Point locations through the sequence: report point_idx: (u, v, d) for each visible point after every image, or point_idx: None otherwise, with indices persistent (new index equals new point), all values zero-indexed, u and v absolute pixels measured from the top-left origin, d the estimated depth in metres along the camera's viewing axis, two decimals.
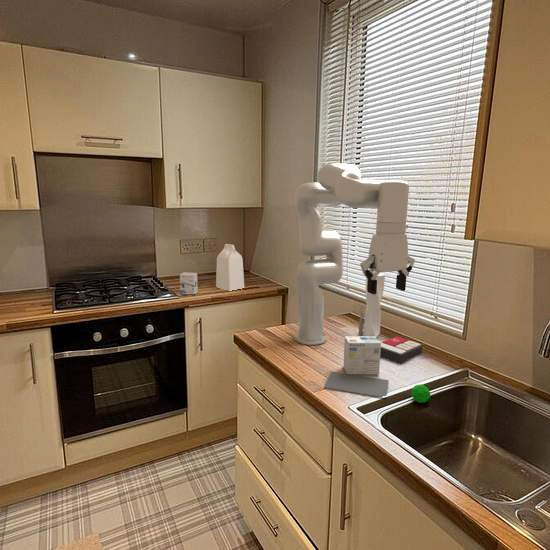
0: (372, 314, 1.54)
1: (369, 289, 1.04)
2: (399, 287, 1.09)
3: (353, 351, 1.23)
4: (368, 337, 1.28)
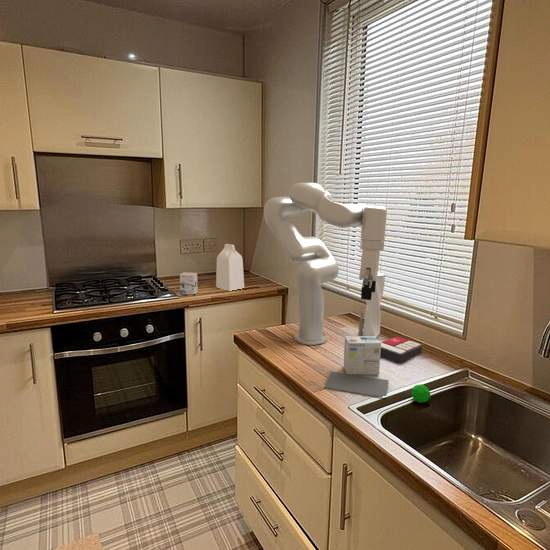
0: (372, 314, 1.54)
1: (366, 296, 1.25)
2: None
3: (353, 351, 1.23)
4: (368, 337, 1.28)
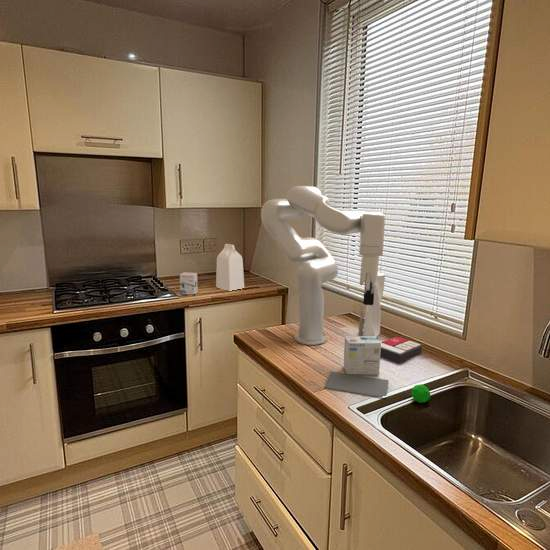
0: (372, 314, 1.54)
1: (368, 302, 1.31)
2: None
3: (353, 351, 1.23)
4: (368, 337, 1.28)
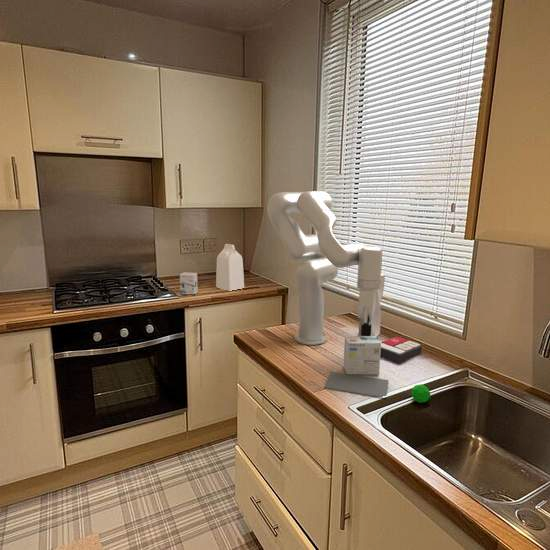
0: None
1: (366, 333, 1.33)
2: None
3: (353, 351, 1.23)
4: (368, 337, 1.28)
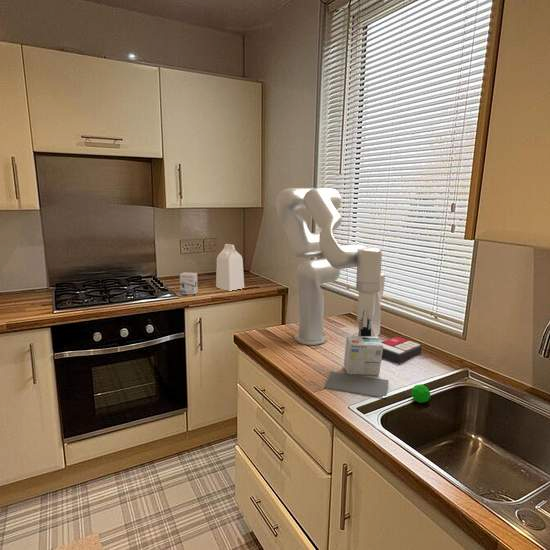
0: None
1: None
2: None
3: (355, 352, 1.22)
4: (370, 338, 1.26)
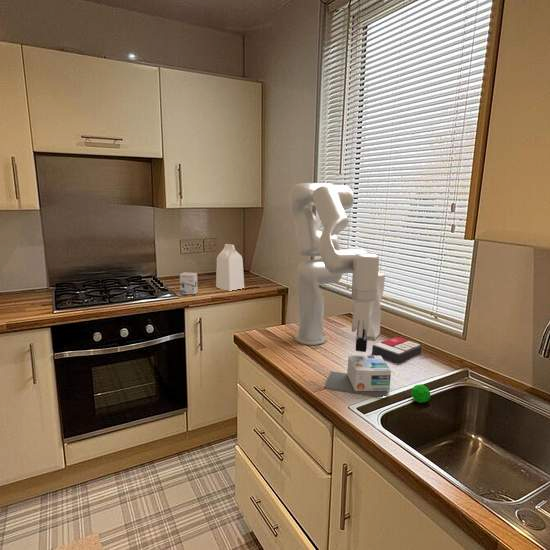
0: (372, 314, 1.54)
1: (361, 348, 1.21)
2: None
3: None
4: (381, 375, 1.13)
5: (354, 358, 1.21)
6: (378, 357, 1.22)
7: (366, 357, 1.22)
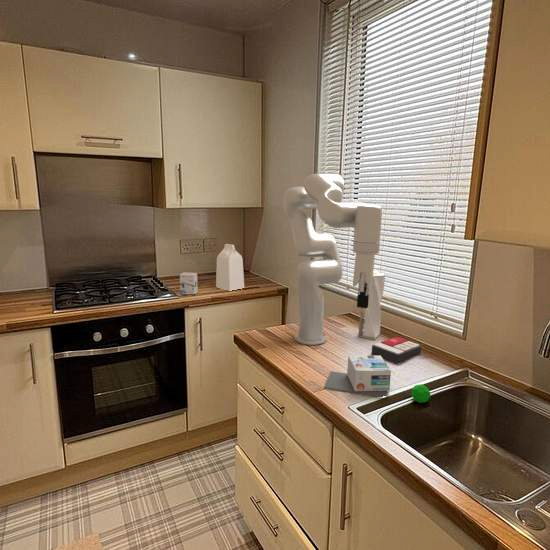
0: (372, 314, 1.54)
1: (362, 304, 1.18)
2: None
3: None
4: (381, 375, 1.13)
5: (354, 358, 1.21)
6: (378, 357, 1.22)
7: (366, 357, 1.22)
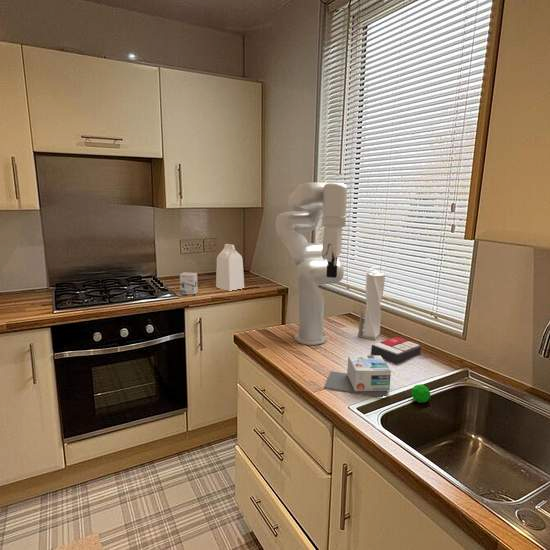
0: (372, 314, 1.54)
1: (331, 274, 1.30)
2: None
3: None
4: (381, 375, 1.13)
5: (354, 358, 1.21)
6: (378, 357, 1.22)
7: (366, 357, 1.22)
